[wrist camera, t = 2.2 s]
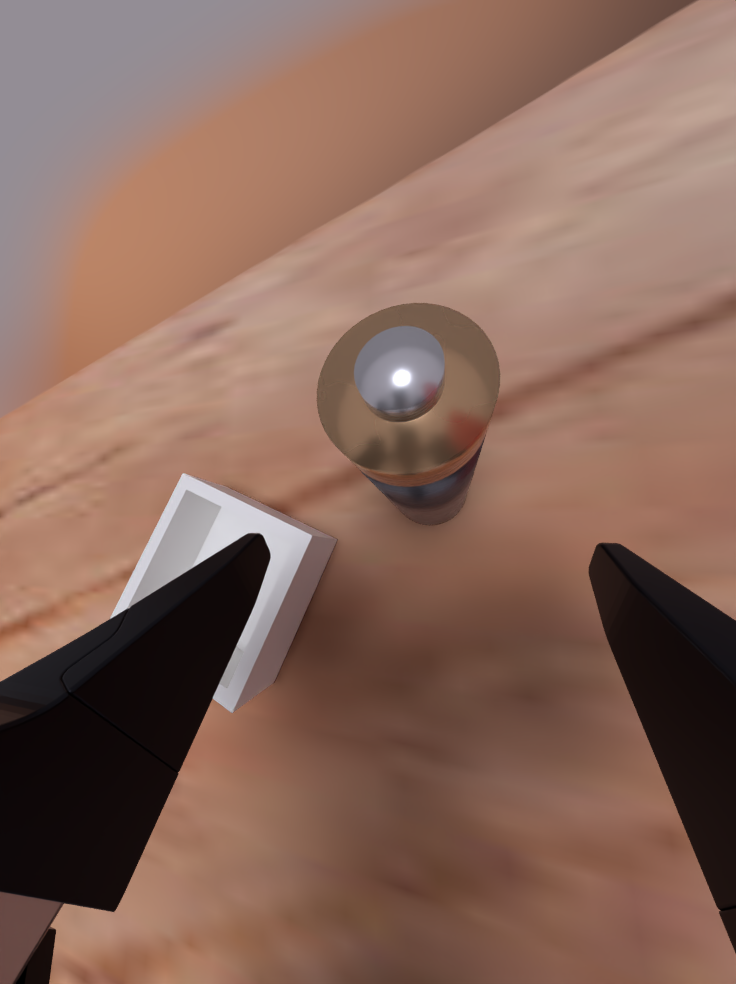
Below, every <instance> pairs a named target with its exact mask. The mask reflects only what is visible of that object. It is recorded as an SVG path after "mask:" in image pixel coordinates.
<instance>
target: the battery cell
mask: <svg viewBox="0 0 736 984" xmlns="http://www.w3.org/2000/svg"><path fill="white" fill-rule="evenodd" d="M499 387H500V369H499V362H498V359H497V355H496V352H495V350H494V347H493V345H492V343H491V341H490V340H489V338H488V337H487V335H486V334H485V333H484V331H483V330H482V329H481V328H480V327H479V326H478V325H477V324H476V323H475V322H473V321H472V320H471V319H470V318H468V317H467V316H465V315H463V314H461V313H460V312H458V311H455V310H453V309H450V308H448V307H444V306H440V305H435V304H428V303H411V304H402V305H398V306H393V307H390V308H387V309H384V310H381V311H379V312H376V313H374V314H372V315H370V316H368V317H367V318H365V319H363V320H361V321H360V322H359V323H357V324H356V325H355V326H353V327H352V328H351V329H350V330H349V331H347V332H346V333H345V334H344V335H343V336H342V337H341V339H340V340H339V341H338V342H337V343H336V345H335V346H334V347H333V349H332V350H331V352H330V353H329V355H328V357H327V359H326V361H325V363H324V365H323V368H322V370H321V373H320V377H319V381H318V388H317V406H318V413H319V417H320V420H321V423H322V425H323V428H324V430H325V432H326V433H327V435H328V437H329V438H330V440H331V441H332V442H333V443H334V445H335V446H336V447H337V448H338V449H339V450H340V451H341V452H342V453H343V454H344V455H345V456H346V457H347V458H348V459H349V460H350V461H351V462H352V463H353V464H354V465H355V466H356V467H357V468H358V469H359V470H360V471H361V472H362V473H363V474H364V475H365V476H366V477H367V478H368V479H369V480H370V481H371V482H372V483H373V484H374V485H375V486H376V487H377V488H378V489H379V490H380V491H381V492H382V493H383V494H384V495H385V496H386V497H387V498H388V499H389V500H390V501H391V502H392V503H393V504H394V505H395V506H396V507H397V508H398V509H399V510H400V511H401V512H402V513H403V514H404V515H406V516H407V517H408V518H409V519H411V520H412V521H414V522H417V523H419V524H424V525H437V524H441V523H444V522H446V521H448V520H450V519H451V518H453V517H454V516H455V515H456V514H457V513H458V512H459V511H460V509H461V508H462V506H463V504H464V502H465V499H466V496H467V493H468V489H469V486H470V483H471V480H472V477H473V474H474V470H475V467H476V464H477V461H478V458H479V455H480V452H481V448H482V445H483V442H484V439H485V436H486V433H487V429H488V426H489V423H490V420H491V417H492V414H493V411H494V407H495V404H496V401H497V398H498V393H499Z"/></svg>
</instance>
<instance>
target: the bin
mask: <svg viewBox="0 0 736 984" xmlns="http://www.w3.org/2000/svg"><path fill="white" fill-rule="evenodd" d="M248 533H260V534H262V535H263V536H264V539H265V541H266V543H267V546H268V548H269V550H270V554H271V558H270V562H269V565H268V568H267V571H266V574H265V577H264V580H263V583H262V586H261V589H260V592H259V595H258V598H257V600H256V603H255V606H254V608H253V610H252V613H251V615H250V617H249V619H248V621H247V624H246V626H245V628H244V630H243V632H242V635H241V637H240V639H239V641H238V643H237V646H236V648H235V650H234V652H233V654H232V657H231V659H230V661H229V663H228V665H227V668H226V670H225V672H224V674H223V676H222V679H221V681H220V683H219V685H218V688H217V690H216V692H215V694H214V696H213V699H214V700H215V701H217V702H218V703H219V704H221V705H222V706H223V707H225V708H226V709H227V710H229V711H230V712H231V713H233V712H234V711H236V710H237V709H238V708H240V707H241V706H243V705H244V704H245V703H247V702H248V701H249V700H251V699H252V698H254V697H255V696H256V695H258V694H259V693H260V692H262V691H263V690H265V689H266V688H267V687H269V686H270V685H271V684H273V683H274V682H275V679H276V677H277V675H278V673H279V670H280V668H281V666H282V664H283V661H284V659H285V657H286V655H287V652H288V650H289V648H290V646H291V643H292V641H293V639H294V637H295V634H296V632H297V630H298V628H299V625H300V623H301V621H302V619H303V616H304V614H305V612H306V610H307V607H308V605H309V603H310V601H311V598H312V596H313V594H314V592H315V589H316V587H317V585H318V583H319V580H320V578H321V576H322V574H323V571H324V569H325V567H326V565H327V562H328V560H329V558H330V556H331V553H332V551H333V549H334V547H335V544H336V542H337V539H335V538H333V537H331V536H329V535H327V534H325V533H323V532H321V531H319V530H316V529H314V528H312V527H310V526H308V525H306V524H304V523H302V522H300V521H298V520H295V519H293V518H291V517H289V516H287V515H285V514H283V513H281V512H279V511H277V510H274V509H272V508H270V507H268V506H266V505H264V504H262V503H260V502H258V501H256V500H253V499H251V498H249V497H247V496H245V495H243V494H241V493H239V492H237V491H234V490H232V489H230V488H228V487H226V486H223V485H220V484H217V483H213V482H210V481H207V480H204V479H201V478H198V477H195V476H191V475H188V474H185V473H183V474H182V476H181V478H180V480H179V482H178V484H177V486H176V488H175V490H174V492H173V494H172V496H171V498H170V500H169V502H168V504H167V506H166V508H165V510H164V512H163V514H162V516H161V518H160V520H159V522H158V524H157V526H156V528H155V530H154V532H153V534H152V536H151V538H150V540H149V542H148V544H147V546H146V548H145V550H144V552H143V554H142V556H141V558H140V560H139V562H138V564H137V566H136V568H135V570H134V572H133V574H132V576H131V578H130V580H129V582H128V584H127V586H126V588H125V590H124V592H123V594H122V596H121V598H120V600H119V602H118V604H117V606H116V608H115V610H114V612H113V614H112V616H111V618H113V617H114V616H116V615H117V614H119V613H121V612H122V611H124V610H125V609H127V608H130V607H131V606H132V605H134V604H135V603H137V602H138V601H140V600H142V599H143V598H145V597H146V596H148V595H150V594H151V593H153V592H154V591H156V590H158V589H159V588H161V587H162V586H164V585H166V584H167V583H169V582H170V581H172V580H174V579H175V578H177V577H178V576H180V575H182V574H183V573H185V572H186V571H188V570H190V569H191V568H193V567H194V566H196V565H198V564H199V563H201V562H202V561H204V560H206V559H207V558H209V557H210V556H212V555H214V554H215V553H217V552H219V551H220V550H222V549H223V548H225V547H227V546H228V545H230V544H231V543H233V542H235V541H236V540H238V539H239V538H241V537H243V536H244V535H246V534H248ZM111 618H110V619H111Z"/></svg>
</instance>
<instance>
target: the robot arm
mask: <svg viewBox="0 0 736 984" xmlns="http://www.w3.org/2000/svg"><path fill="white" fill-rule="evenodd" d="M270 558H271V554H270V550H269V548H268V546H267V543H266V541H265V539H264V536H263V535H262V534H260V533H248V534H246V535H244V536H243V537H241V538H239V539H238V540H236V541H235V542H233V543H231V544H230V545H228V546H227V547H225V548H223V549H222V550H220V551H219V552H217V553H215V554H214V555H212V556H210V557H209V558H207V559H206V560H204V561H202V562H201V563H199V564H198V565H196V566H194V567H193V568H191V569H190V570H188V571H186V572H185V573H183V574H182V575H180V576H178V577H177V578H175V579H174V580H172V581H170V582H169V583H167V584H166V585H164V586H162V587H161V588H159V589H158V590H156V591H154V592H153V593H151V594H150V595H148V596H146V597H145V598H143V599H142V600H140V601H138V602H137V603H135V604H134V605H132V606H131V607H130V608H127V609H125V610H124V611H122V612H121V613H119V614H117V615H116V616H114V617H113V618H111V619H109V620H108V621H106V622H104V623H103V624H101V625H99V626H98V627H96V628H95V629H93V630H91V631H90V632H88V633H86V634H84V635H83V636H81V637H79V638H77V639H76V640H74V641H72V642H70V643H69V644H67V645H65V646H63V647H62V648H60V649H58V650H56V651H54V652H53V653H51V654H49V655H47V656H46V657H44V658H42V659H40V660H38V661H37V662H35V663H33V664H31V665H29V666H28V667H26V668H24V669H22V670H21V671H19V672H17V673H15V674H13V675H12V676H10V677H8V678H6V679H5V680H3V681H1V682H0V984H49V980H50V972H51V965H52V957H53V950H54V942H55V934H56V929H54V928H52V927H50V926H51V924H52V923H53V921H54V919H55V918H56V916H57V914H58V913H59V911H60V909H61V908H62V906H63V904H64V903H65V904H71V905H77V906H82V907H88V908H94V909H99V910H105V911H111V912H114V911H115V910H116V908H117V907H118V905H119V903H120V901H121V899H122V897H123V895H124V893H125V891H126V888H127V886H128V884H129V882H130V880H131V877H132V875H133V873H134V871H135V869H136V866H137V864H138V862H139V860H140V857H141V855H142V853H143V851H144V849H145V846H146V844H147V842H148V840H149V838H150V835H151V833H152V831H153V829H154V827H155V824H156V822H157V820H158V818H159V816H160V813H161V811H162V809H163V807H164V805H165V802H166V800H167V798H168V796H169V794H170V791H171V789H172V787H173V785H174V783H175V780H176V778H177V776H178V772H179V771H180V769H181V767H182V765H183V762H184V760H185V758H186V756H187V754H188V751H189V749H190V747H191V745H192V743H193V740H194V738H195V736H196V734H197V732H198V729H199V727H200V725H201V723H202V721H203V718H204V716H205V714H206V712H207V710H208V707H209V705H210V703H211V701H212V699H213V696H214V694H215V692H216V690H217V688H218V685H219V683H220V681H221V679H222V676H223V674H224V672H225V670H226V668H227V665H228V663H229V661H230V659H231V657H232V654H233V652H234V650H235V648H236V646H237V643H238V641H239V639H240V637H241V635H242V632H243V630H244V628H245V626H246V624H247V621H248V619H249V617H250V615H251V613H252V610H253V608H254V606H255V603H256V600H257V598H258V595H259V592H260V589H261V586H262V583H263V580H264V577H265V574H266V571H267V568H268V565H269V562H270ZM589 577H590V581H591V584H592V588H593V592H594V595H595V599H596V602H597V606H598V610H599V613H600V617H601V620H602V624H603V627H604V631H605V634H606V637H607V640H608V642H609V645H610V647H611V650H612V652H613V655H614V657H615V660H616V662H617V665H618V667H619V669H620V672H621V674H622V677H623V679H624V682H625V684H626V686H627V689H628V691H629V694H630V696H631V699H632V701H633V704H634V706H635V708H636V711H637V713H638V716H639V718H640V721H641V723H642V725H643V728H644V730H645V733H646V735H647V738H648V740H649V742H650V745H651V747H652V750H653V752H654V755H655V757H656V760H657V762H658V764H659V767H660V769H661V772H662V774H663V777H664V779H665V781H666V784H667V786H668V789H669V791H670V794H671V796H672V799H673V801H674V803H675V806H676V808H677V811H678V813H679V816H680V818H681V820H682V823H683V825H684V828H685V830H686V833H687V835H688V838H689V840H690V842H691V845H692V847H693V850H694V852H695V855H696V857H697V859H698V862H699V864H700V867H701V869H702V872H703V874H704V876H705V879H706V881H707V884H708V886H709V889H710V891H711V894H712V896H713V898H714V901H715V903H716V906H717V908H718V909H719V910H721V911H719V914H720V916H721V919H722V921H723V924H724V926H725V928H726V931H727V933H728V936H729V938H730V941H731V943H732V946H733V948H734V950H735V953H736V621H735V620H734V619H732V618H731V617H729V616H728V615H726V614H725V613H723V612H722V611H720V610H719V609H717V608H716V607H714V606H713V605H711V604H710V603H708V602H707V601H705V600H704V599H702V598H701V597H699V596H698V595H696V594H695V593H693V592H692V591H690V590H689V589H687V588H686V587H684V586H683V585H681V584H680V583H678V582H677V581H675V580H674V579H672V578H671V577H669V576H668V575H666V574H665V573H663V572H662V571H660V570H659V569H657V568H656V567H654V566H653V565H651V564H650V563H648V562H647V561H645V560H644V559H642V558H641V557H639V556H638V555H636V554H635V553H633V552H632V551H630V550H629V549H627V548H626V547H624V546H623V545H621V544H618V543H599V544H598V545H597V546H596V548H595V551H594V554H593V556H592V559H591V562H590V565H589Z"/></svg>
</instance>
